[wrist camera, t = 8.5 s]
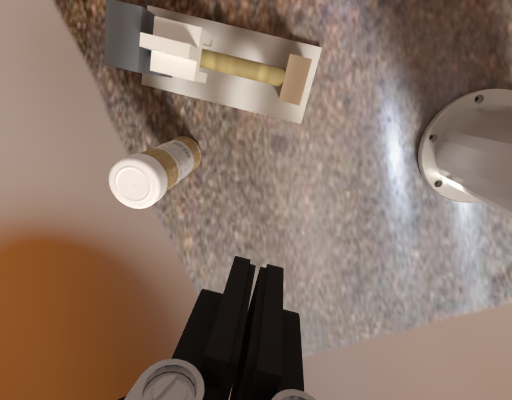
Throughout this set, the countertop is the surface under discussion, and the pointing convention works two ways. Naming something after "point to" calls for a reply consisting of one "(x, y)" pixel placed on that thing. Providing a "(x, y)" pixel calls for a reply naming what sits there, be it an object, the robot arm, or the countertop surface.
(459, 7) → the countertop surface
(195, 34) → the sleeve
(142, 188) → the sprinkles bottle
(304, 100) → the linear actuator
